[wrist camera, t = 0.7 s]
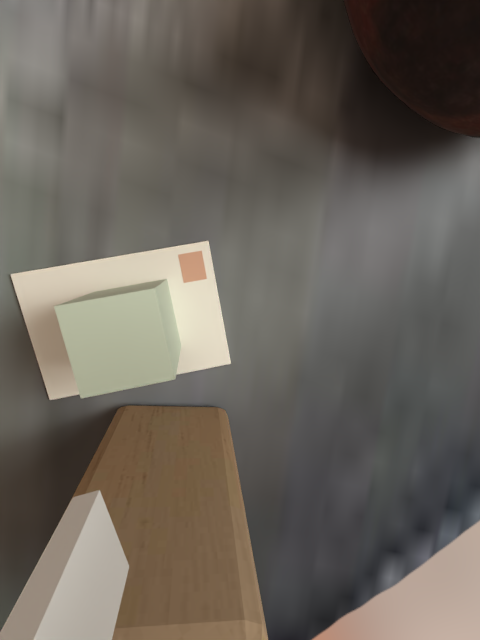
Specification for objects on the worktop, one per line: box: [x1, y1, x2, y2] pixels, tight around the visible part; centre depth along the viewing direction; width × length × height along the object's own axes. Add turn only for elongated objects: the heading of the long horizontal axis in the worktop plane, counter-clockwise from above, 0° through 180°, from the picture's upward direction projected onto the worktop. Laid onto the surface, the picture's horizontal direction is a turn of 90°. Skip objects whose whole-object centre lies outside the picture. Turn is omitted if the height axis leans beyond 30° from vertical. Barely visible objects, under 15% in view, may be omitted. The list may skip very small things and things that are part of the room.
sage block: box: [54, 279, 181, 398], centre depth 25 cm, size 6×6×8 cm
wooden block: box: [62, 405, 268, 640], centre depth 22 cm, size 10×10×20 cm
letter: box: [10, 241, 231, 400], centre depth 29 cm, size 16×11×1 cm
